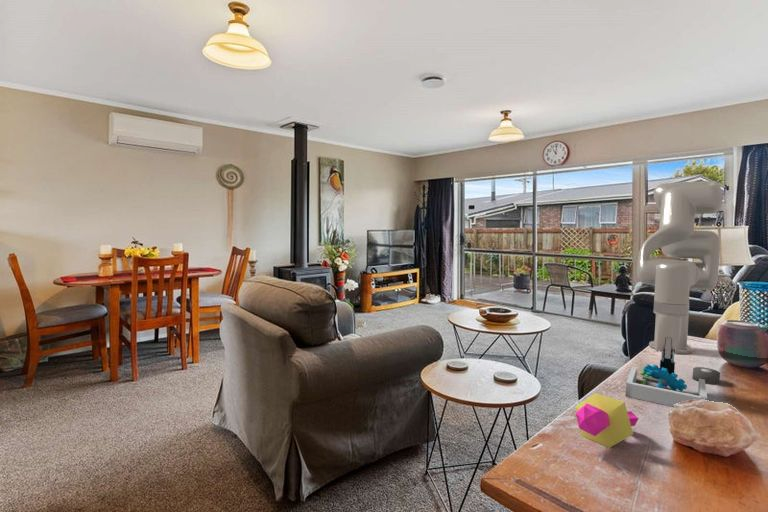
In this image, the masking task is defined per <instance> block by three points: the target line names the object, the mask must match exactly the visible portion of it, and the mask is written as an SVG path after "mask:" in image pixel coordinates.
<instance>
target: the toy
mask: <svg viewBox="0 0 768 512" xmlns="http://www.w3.org/2000/svg"><path fill="white" fill-rule="evenodd" d="M575 416H576V420H577V425H578V428H579V430H580V434H581V435H580V436H581V437H583V438H585V439H588V440H590V441H593V442H595V443H598V444H599V445H602V446H605V447H606V448H612V447H613V446H615V445H617V444H619V443H620V442H622V441H623V440H626V439H628V438H630V437H631V436H633V435H634V432H633V428H632V427H635V426H636V425H637V422H638V420H639V417H638V416H637V415H636V414H635V413H634V412H632V410H631V411H628V410H627V406H626V403H625V401H624V400H623V401H622V400H620V399H616V398H613V397H609V396H606V395H603V394H601V393H597V392H595V393H593V394H592V395H591V396H589V397H588V398H585V400H582V401H581V402H580V403H578V404H576V405H575Z"/></svg>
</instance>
